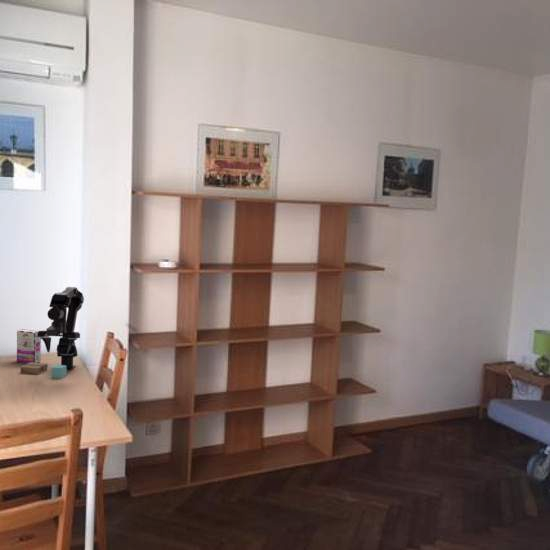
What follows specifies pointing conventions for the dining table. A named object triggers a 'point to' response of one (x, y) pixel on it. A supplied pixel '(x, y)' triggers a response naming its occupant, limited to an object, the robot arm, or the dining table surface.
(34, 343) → the candy bar box
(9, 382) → the dining table surface
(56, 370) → the teal cube
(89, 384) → the dining table surface
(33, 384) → the dining table surface
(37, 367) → the walnut base block
